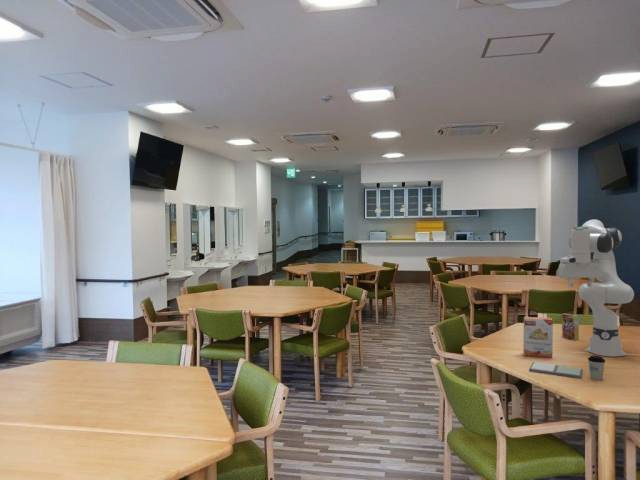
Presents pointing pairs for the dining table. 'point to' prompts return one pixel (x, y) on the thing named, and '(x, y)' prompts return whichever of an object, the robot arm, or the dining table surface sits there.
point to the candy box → (570, 326)
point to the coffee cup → (596, 367)
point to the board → (556, 370)
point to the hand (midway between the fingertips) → (580, 286)
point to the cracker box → (538, 337)
